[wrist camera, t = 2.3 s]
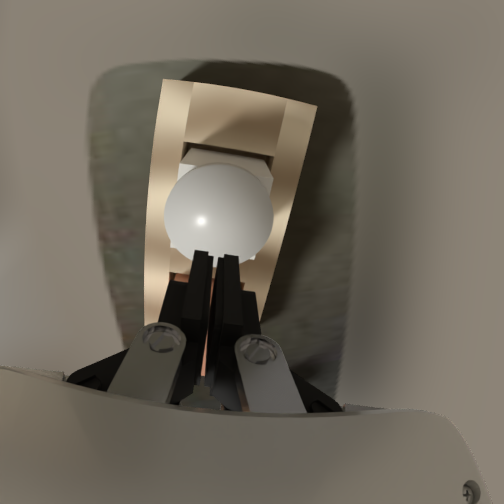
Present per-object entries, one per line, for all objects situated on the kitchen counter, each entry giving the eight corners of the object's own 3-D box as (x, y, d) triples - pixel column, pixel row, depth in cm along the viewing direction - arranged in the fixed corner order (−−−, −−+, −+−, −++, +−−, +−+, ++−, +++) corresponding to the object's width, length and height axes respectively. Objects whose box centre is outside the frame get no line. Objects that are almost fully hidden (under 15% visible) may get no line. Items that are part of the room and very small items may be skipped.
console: (177, 82, 21) (163, 79, 16) (300, 104, 22) (317, 106, 18) (154, 319, 32) (145, 353, 27) (243, 332, 33) (246, 366, 29)
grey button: (186, 141, 19) (169, 158, 14) (271, 155, 20) (285, 176, 15) (176, 219, 22) (160, 259, 17) (253, 231, 23) (260, 273, 18)
